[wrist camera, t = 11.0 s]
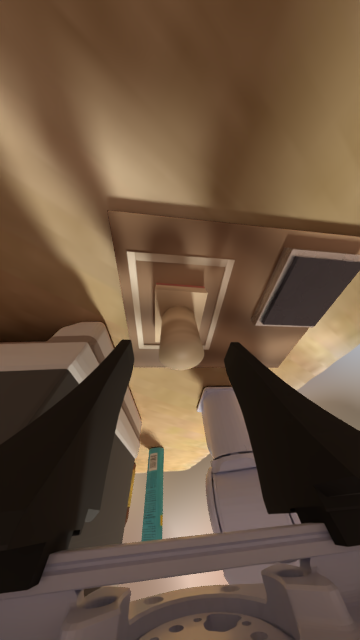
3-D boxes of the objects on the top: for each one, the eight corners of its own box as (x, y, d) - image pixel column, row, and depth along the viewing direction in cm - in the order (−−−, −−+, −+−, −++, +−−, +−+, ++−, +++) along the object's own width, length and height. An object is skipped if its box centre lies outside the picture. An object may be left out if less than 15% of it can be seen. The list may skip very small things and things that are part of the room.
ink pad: (305, 322, 16) (315, 329, 15) (250, 320, 16) (256, 327, 15) (356, 254, 12) (376, 257, 11) (284, 247, 11) (296, 250, 10)
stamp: (194, 333, 16) (204, 380, 11) (156, 332, 16) (150, 380, 11) (203, 286, 13) (224, 323, 8) (156, 282, 13) (147, 319, 8)
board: (274, 363, 22) (278, 368, 21) (135, 362, 20) (134, 368, 19) (367, 238, 12) (381, 239, 11) (111, 211, 10) (106, 210, 9)
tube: (156, 452, 48) (149, 561, 33) (144, 450, 46) (131, 566, 31) (169, 446, 45) (168, 564, 30) (157, 444, 43) (149, 569, 28)
